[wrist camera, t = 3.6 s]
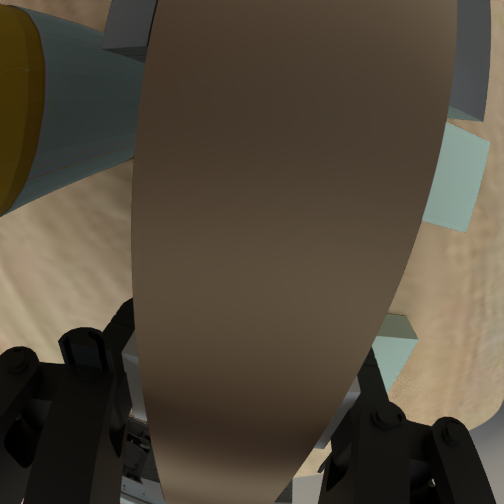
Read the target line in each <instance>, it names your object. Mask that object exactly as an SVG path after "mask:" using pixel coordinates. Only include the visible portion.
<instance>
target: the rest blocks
mask: <svg viewBox="0 0 504 504" xmlns="http://www.w3.org/2000/svg"><path fill="white" fill-rule="evenodd" d="M489 146H490V142H488V141H486V140H484V139H482V138H480V137H478V136H476V135H474V134H472V133H470V132H467V131H465V130H463V129H461V128H459V127H456V126H454V125H452V124H450V123H447V122H446V125H445V131H444V136H443V141H442V145H441V150H440V154H439V159H438V163H437V167H436V171H435V175H434V179H433V183H432V187H431V190H430V194H429V198H428V201H427V205H426V208H425V211H424V215H423V218H422V221H425V222H428V223H432V224H436V225H439V226H443V227H447V228H450V229H454V230H457V231H460V232H464V233H466V231H467V228H468V225H469V222H470V218H471V215H472V212H473V209H474V206H475V202H476V199H477V195H478V192H479V188H480V184H481V181H482V177H483V173H484V168H485V164H486V160H487V155H488V151H489ZM418 340H419V339H418V337H417V335H416V334H415V332H414V330H413V328H412V326H411V324H410V322H409V320H408V318H407V317H406V316H401V315H393V314H386V316H385V319H384V321H383V323H382V325H381V327H380V330H379V332H378V334H377V336H376V338H375V340H374V342H373V344H372V348H373V351H374V354H375V358H376V360H377V363H378V367H379V369H380V372H381V375H382V379H383V382H384V385H385V388H386V392H388V391H389V389H390V388H391V386H392V384H393V383H394V381H395V380H396V378H397V376H398V375H399V373H400V371H401V370H402V368H403V366H404V365H405V363H406V361H407V360H408V358H409V356H410V354H411V353H412V351H413V349H414V347H415V345H416V344H417V342H418Z"/></svg>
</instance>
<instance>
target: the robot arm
mask: <svg viewBox="0 0 504 504" xmlns="http://www.w3.org/2000/svg"><path fill="white" fill-rule="evenodd" d="M58 343H59V346H60V349H61V353H62V356H63V359H64V362H65V364H56V363H45V362H39V359H38V357H37V355H36V353H35V352H34V351H33V350H31V349H30V348H27V347H24V346H20V347H13V348H10V349H8V350H6V351H5V352H4V353H2V354H1V355H0V504H21V502H22V500H23V498H24V502H23V504H120V496H121V485H122V475H123V465H124V457H125V449H126V441H127V434H128V423H127V417H128V415H129V413H130V410H131V408H132V411H133V416H134V417H135V418H138V419H141V420H145V421H147V417H146V411H145V405H144V398H143V392H142V385H141V377H140V370H139V361H138V352H137V343H136V332H135V320H134V305H133V298H131V299H129V300H128V301H126V302H124V303H123V304H122V306H121V307H120V308H119V310H118V311H117V312H116V315H114V317H113V318H112V319H111V322H110V323H109V324H108V325H107V326H106V328H105V329H104V331H103V332H101V331H100V330H97V329H94V328H91V327H80V328H76V329H72V330H70V331H68V332H67V333H65V334H63V336H62V337H61V338H60V339H59V341H58ZM330 440H331V448H332V452H331V453H330V454H329V456H328V457H327V458H326V460H325V461H324V462H323V463H322V465H321V466H320V468H319V470H318V473H321V472H322V471H323V470H324V469H325V470H324V475H323V480H322V486H321V491H320V496H319V501H318V504H496V501H495V499H494V495H493V493H492V490H491V487H490V484H489V481H488V478H487V476H486V473H485V471H484V468H483V465H482V463H481V460H480V458H479V455H478V453H477V450H476V448H475V445H474V444H473V441H472V438H471V436H470V434H469V431H468V430H467V428H466V427H465V425H464V424H463V423H461V422H460V421H459V420H457V419H455V418H453V417H442V418H439V419H438V420H437V421H436V422H435V423H434V424H433V425H432V426H428V425H424V424H420V423H416V422H412V421H409V420H407V419H406V416H405V414H404V412H403V411H402V410H401V409H400V407H398V406H397V405H395V404H394V403H392V402H390V401H389V398H388V395H387V392H386V388H385V385H384V382H383V379H382V375H381V372H380V369H379V367H378V363H377V360H376V358H375V354H374V351H373V348H372V346H371V348H370V351H369V353H368V355H367V357H366V359H365V360H364V362H363V364H362V366H361V368H360V370H359V372H358V374H357V376H356V378H355V380H354V381H353V383H352V385H351V387H350V389H349V391H348V392H347V394H346V396H345V398H344V399H343V401H342V403H341V405H340V406H339V408H338V410H337V411H336V413H335V415H334V416H333V418H332V420H331V421H330V423H329V425H328V426H327V428H326V429H325V431H324V433H323V434H322V436H321V437H320V439H319V440H318V442H317V443H316V445H315V446H314V448H318V449H324V448H325V447H326V445H327V444H328V442H329V441H330ZM432 479H434V482H435V485H436V486H435V485H434V484H433V482H432Z"/></svg>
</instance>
